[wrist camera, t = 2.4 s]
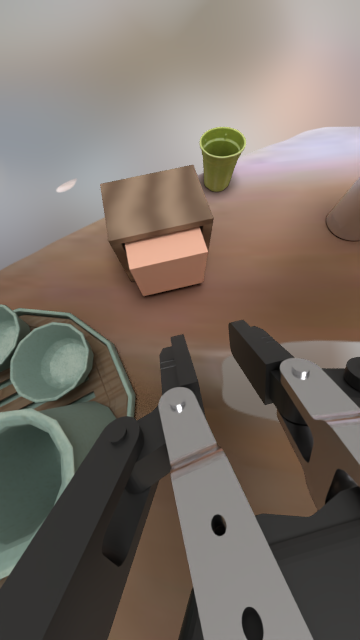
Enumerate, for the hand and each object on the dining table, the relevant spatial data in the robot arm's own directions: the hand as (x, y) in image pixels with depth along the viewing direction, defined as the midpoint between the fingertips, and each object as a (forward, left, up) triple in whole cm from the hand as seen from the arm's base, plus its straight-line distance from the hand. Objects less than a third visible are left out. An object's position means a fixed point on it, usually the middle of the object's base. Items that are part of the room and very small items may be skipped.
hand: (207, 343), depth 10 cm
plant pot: (-17, -42, -24) cm, 51 cm away
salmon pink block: (0, -20, -23) cm, 30 cm away
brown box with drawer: (0, -26, -24) cm, 35 cm away
